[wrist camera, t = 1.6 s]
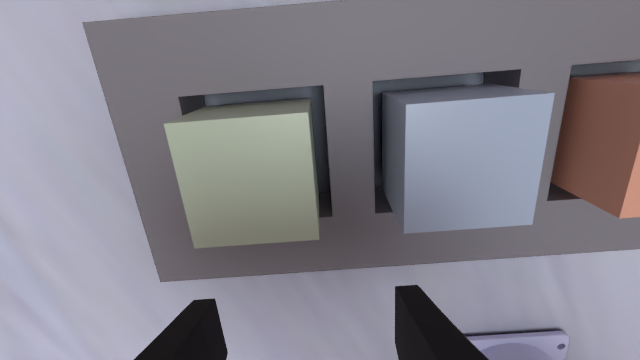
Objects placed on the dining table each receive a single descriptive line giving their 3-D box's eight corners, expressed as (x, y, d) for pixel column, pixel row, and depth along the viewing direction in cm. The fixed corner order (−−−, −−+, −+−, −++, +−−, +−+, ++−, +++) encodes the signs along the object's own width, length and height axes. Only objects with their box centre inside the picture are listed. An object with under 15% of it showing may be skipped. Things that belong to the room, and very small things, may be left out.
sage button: (319, 195, 16) (319, 239, 12) (223, 203, 16) (194, 248, 12) (310, 98, 15) (308, 112, 11) (204, 106, 15) (163, 123, 11)
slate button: (479, 184, 16) (532, 224, 12) (382, 191, 16) (403, 233, 12) (490, 83, 14) (554, 92, 10) (381, 92, 14) (405, 104, 11)
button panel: (661, 215, 19) (721, 243, 16) (183, 249, 19) (160, 281, 17) (741, -33, 14) (844, -56, 12) (123, 19, 15) (78, 10, 12)
